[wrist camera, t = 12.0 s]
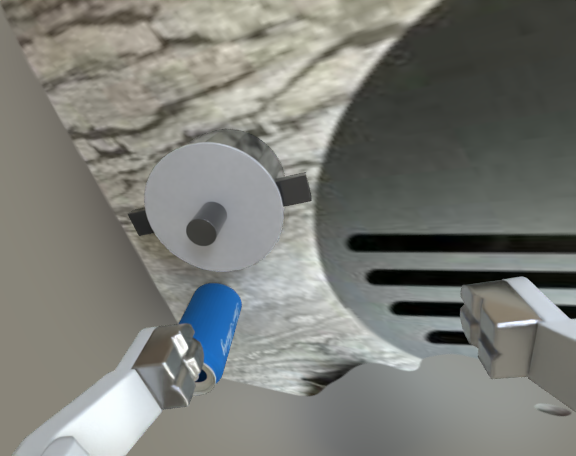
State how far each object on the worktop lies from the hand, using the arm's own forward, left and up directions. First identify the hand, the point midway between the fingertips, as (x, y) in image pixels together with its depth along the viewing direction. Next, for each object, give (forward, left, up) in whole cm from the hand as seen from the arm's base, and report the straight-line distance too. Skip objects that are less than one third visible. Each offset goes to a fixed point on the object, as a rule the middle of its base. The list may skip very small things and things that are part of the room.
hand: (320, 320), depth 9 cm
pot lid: (+2, -9, -18) cm, 20 cm away
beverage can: (+17, -16, -25) cm, 35 cm away
